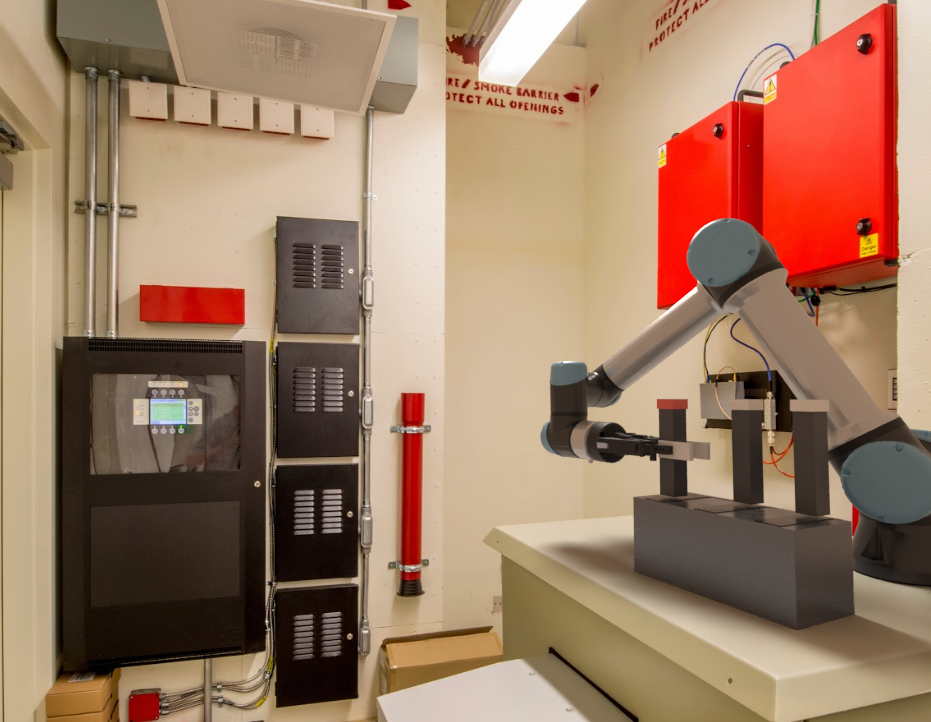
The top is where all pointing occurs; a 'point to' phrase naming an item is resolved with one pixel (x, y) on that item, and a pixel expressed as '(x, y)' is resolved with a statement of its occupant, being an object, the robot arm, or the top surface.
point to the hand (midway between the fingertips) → (699, 451)
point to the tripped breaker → (675, 430)
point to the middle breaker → (747, 450)
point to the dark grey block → (748, 556)
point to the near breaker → (811, 457)
